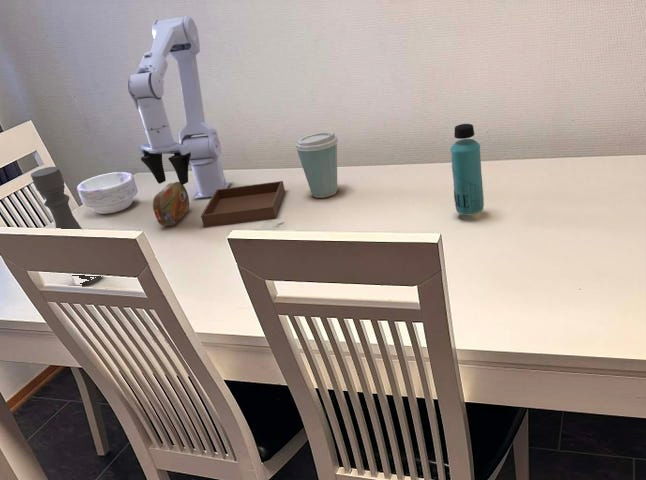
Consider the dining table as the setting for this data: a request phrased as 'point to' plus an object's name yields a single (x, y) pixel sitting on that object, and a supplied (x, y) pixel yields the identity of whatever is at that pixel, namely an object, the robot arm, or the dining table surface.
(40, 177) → the candle holder
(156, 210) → the tin
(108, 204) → the paper bowls
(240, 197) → the tray
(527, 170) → the dining table surface
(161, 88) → the robot arm
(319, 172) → the disposable coffee cup
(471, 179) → the beverage bottle
